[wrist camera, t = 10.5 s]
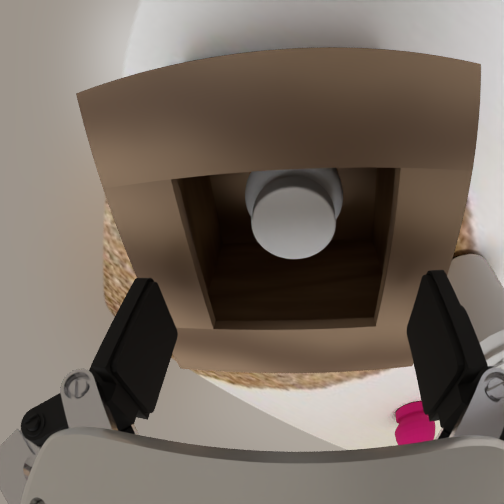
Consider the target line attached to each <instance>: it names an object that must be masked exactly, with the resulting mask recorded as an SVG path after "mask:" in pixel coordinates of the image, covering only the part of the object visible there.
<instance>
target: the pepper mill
mask: <svg viewBox="0 0 504 504" xmlns="http://www.w3.org/2000/svg"><path fill="white" fill-rule="evenodd" d="M395 414H396V422H397V423H399V425H398V427H397V429H396V431H395V437H396V441H397V443H398V445H404V444H411V443H418V442H424V441H430V440H433V439H434V436H435V422H434V421H431V422H429V416H428V415H425V413H424V411H423V406H422V401H418V402H413V403H409V404H407V405H404V406H402V407H401V408H399V409H398V410H397V411H396V413H395Z"/></svg>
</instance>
